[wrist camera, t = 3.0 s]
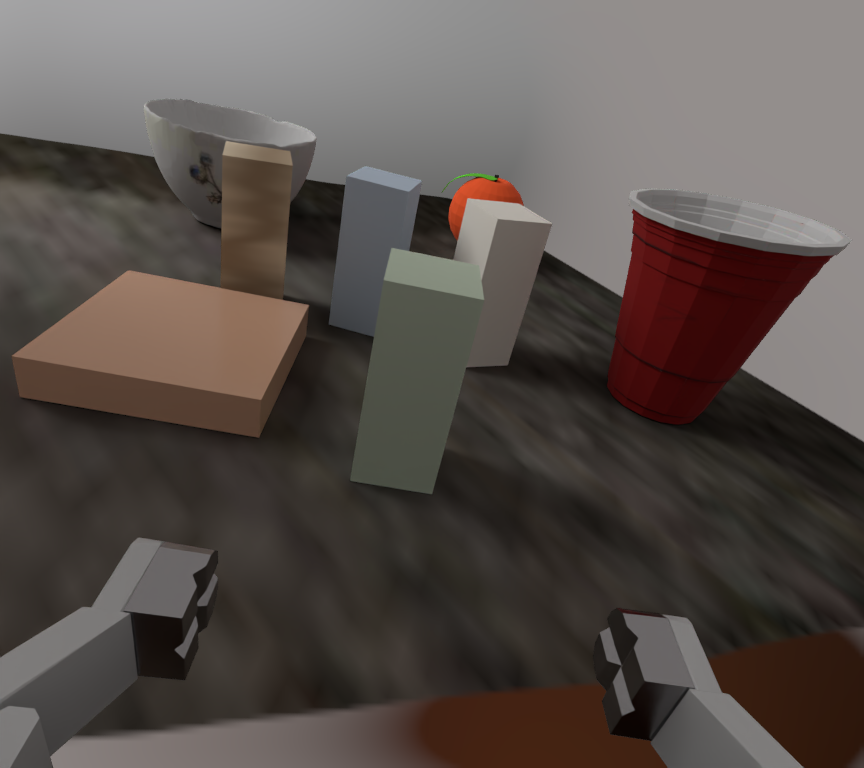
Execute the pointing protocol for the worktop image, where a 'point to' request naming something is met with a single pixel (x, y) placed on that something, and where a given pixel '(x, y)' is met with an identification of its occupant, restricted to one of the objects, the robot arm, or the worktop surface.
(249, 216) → the beech post
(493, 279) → the cream post
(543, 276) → the worktop surface
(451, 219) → the clementine
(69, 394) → the terracotta tile
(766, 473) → the worktop surface
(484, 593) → the worktop surface
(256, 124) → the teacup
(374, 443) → the sage green post
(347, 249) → the dusty blue post
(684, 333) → the plastic cup
